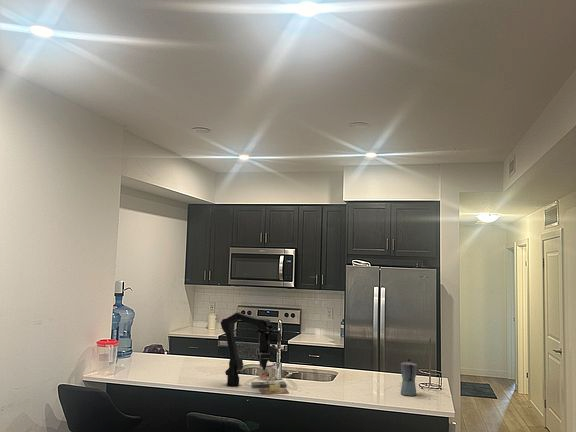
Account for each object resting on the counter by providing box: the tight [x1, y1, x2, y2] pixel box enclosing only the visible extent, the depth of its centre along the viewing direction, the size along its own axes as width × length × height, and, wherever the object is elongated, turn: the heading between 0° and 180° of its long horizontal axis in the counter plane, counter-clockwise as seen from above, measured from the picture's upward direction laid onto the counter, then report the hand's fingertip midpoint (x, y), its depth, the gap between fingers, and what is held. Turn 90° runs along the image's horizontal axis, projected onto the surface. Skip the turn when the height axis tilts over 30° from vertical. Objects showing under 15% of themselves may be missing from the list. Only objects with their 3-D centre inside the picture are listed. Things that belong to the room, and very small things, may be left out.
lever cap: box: [267, 383, 280, 392], centre depth 306 cm, size 6×5×4 cm
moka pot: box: [400, 358, 418, 397], centre depth 310 cm, size 10×15×20 cm, turn 2°
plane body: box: [250, 378, 287, 389], centre depth 318 cm, size 20×7×5 cm, turn 101°
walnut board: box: [258, 387, 290, 395], centre depth 306 cm, size 16×10×1 cm, turn 101°
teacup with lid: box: [258, 360, 278, 381], centre depth 339 cm, size 12×9×12 cm
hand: (262, 368), depth 311 cm, fingers open, 9 cm apart
